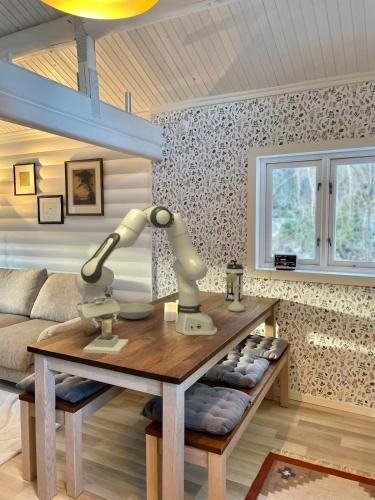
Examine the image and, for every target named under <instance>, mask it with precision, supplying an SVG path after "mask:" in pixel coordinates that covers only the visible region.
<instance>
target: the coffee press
mask: <svg viewBox="0 0 375 500" xmlns="http://www.w3.org/2000/svg"><path fill="white" fill-rule="evenodd" d="M225 267H226V268H225V269H226V274H225V275H226V276H227V275H228V274H230V273H231V274H232V273H234V275H235V274H236V275H237V279H236V280H235V282H233V283H229V282H226V285H225V286H226V287H225V288H226V292H225V294H226V295H225V296H226V298H225V301H226V302H229V300H233V301H234V300H235V295H234V291H233V290H235V289H237V290H240V292H239V294H238V301H239V303H241V302H242V300H243V299H244V298H243V289H244V288H243V285H244V284H243V283H244V269H245V267H244V265H243V264H242V263H237V260H236V259H234V260H233V263H229V264H227V266H225ZM229 285H232V286H234V287H236V286H238V285H240V287H239V288H234V287H232V288H227V286H229Z"/></svg>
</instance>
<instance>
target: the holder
mask: <svg viewBox="0 0 375 500" xmlns="http://www.w3.org/2000/svg"><path fill="white" fill-rule="evenodd" d="M128 344H129V339H123V338H119V335H117V334H115V335H113V334H112V340H102V334H100V335H99V336H97V337H95V338H94V339H93V340H91V342H90V343H88V344H87V345H86V346H84V348H83V349H82V353H86V354H87V353H88V354H89V353H90V354H102V353H104V355H105V353H106V355H119V354H120V353H121V352H122V351H123V350H124V348H125V347H126V346H127V345H128Z"/></svg>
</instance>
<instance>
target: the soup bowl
mask: <svg viewBox="0 0 375 500" xmlns="http://www.w3.org/2000/svg"><path fill="white" fill-rule="evenodd" d="M118 305H119V307H120V309H121V310H120V313H119V314H118V315H119V316H121V318H124V319H127V320H139V319H144V318H146V317H147V316H149V315H150V313H152V311H154V310H155V306H154V305H152V304H150V303H145V302H143V303H142V302H127V303H121V304H118Z"/></svg>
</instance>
